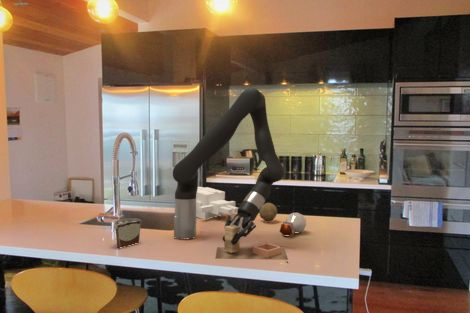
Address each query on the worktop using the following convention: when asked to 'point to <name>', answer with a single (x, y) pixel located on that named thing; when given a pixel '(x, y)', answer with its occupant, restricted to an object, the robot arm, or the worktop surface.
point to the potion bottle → (293, 224)
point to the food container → (127, 231)
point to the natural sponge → (268, 212)
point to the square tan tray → (267, 250)
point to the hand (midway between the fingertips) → (228, 242)
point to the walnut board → (246, 254)
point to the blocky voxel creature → (212, 203)
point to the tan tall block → (229, 235)
